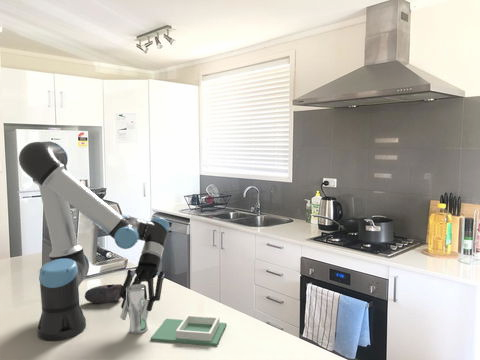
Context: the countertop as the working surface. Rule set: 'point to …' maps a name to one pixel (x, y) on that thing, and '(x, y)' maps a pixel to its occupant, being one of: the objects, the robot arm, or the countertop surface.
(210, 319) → the green board with frame
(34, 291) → the countertop surface
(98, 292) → the perforated stone tool
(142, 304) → the beer glass
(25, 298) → the countertop surface
